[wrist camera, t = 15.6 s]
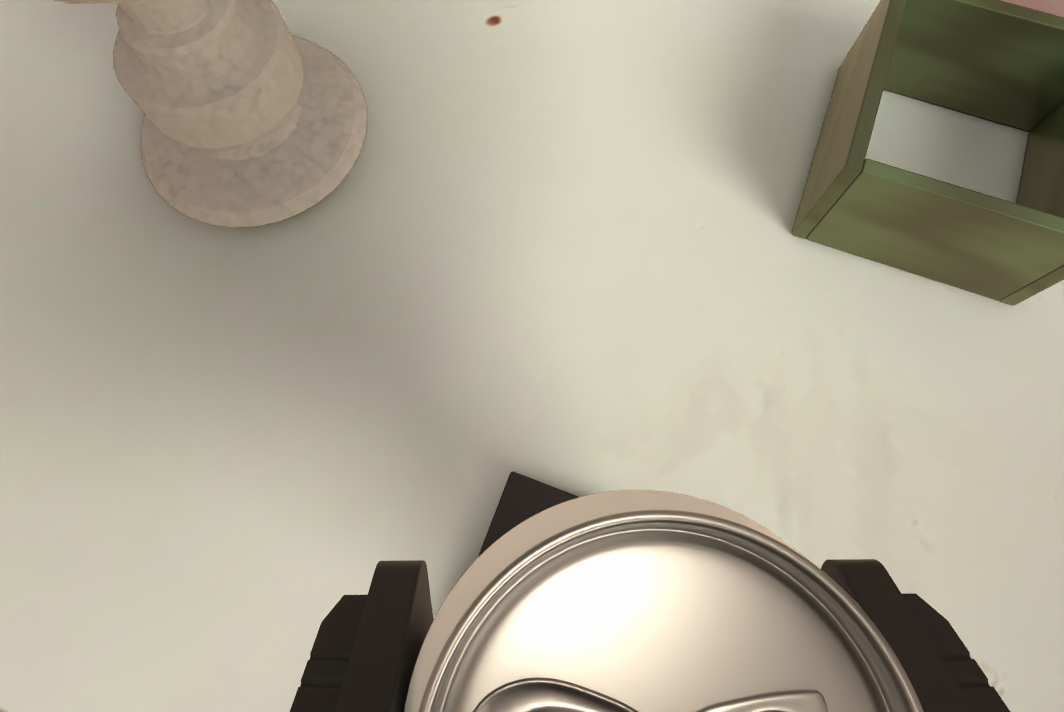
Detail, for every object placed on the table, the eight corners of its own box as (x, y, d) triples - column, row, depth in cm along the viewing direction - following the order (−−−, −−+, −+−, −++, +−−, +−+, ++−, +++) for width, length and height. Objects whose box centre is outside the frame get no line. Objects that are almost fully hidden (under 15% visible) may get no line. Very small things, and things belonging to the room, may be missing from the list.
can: (472, 529, 19) (371, 485, 8) (689, 518, 19) (914, 458, 8) (477, 780, 17) (353, 1228, 6) (719, 767, 17) (1081, 1186, 6)
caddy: (1045, 125, 29) (1146, 38, 24) (1014, 306, 26) (1120, 250, 21) (839, 66, 30) (897, -28, 25) (790, 234, 27) (845, 166, 22)
